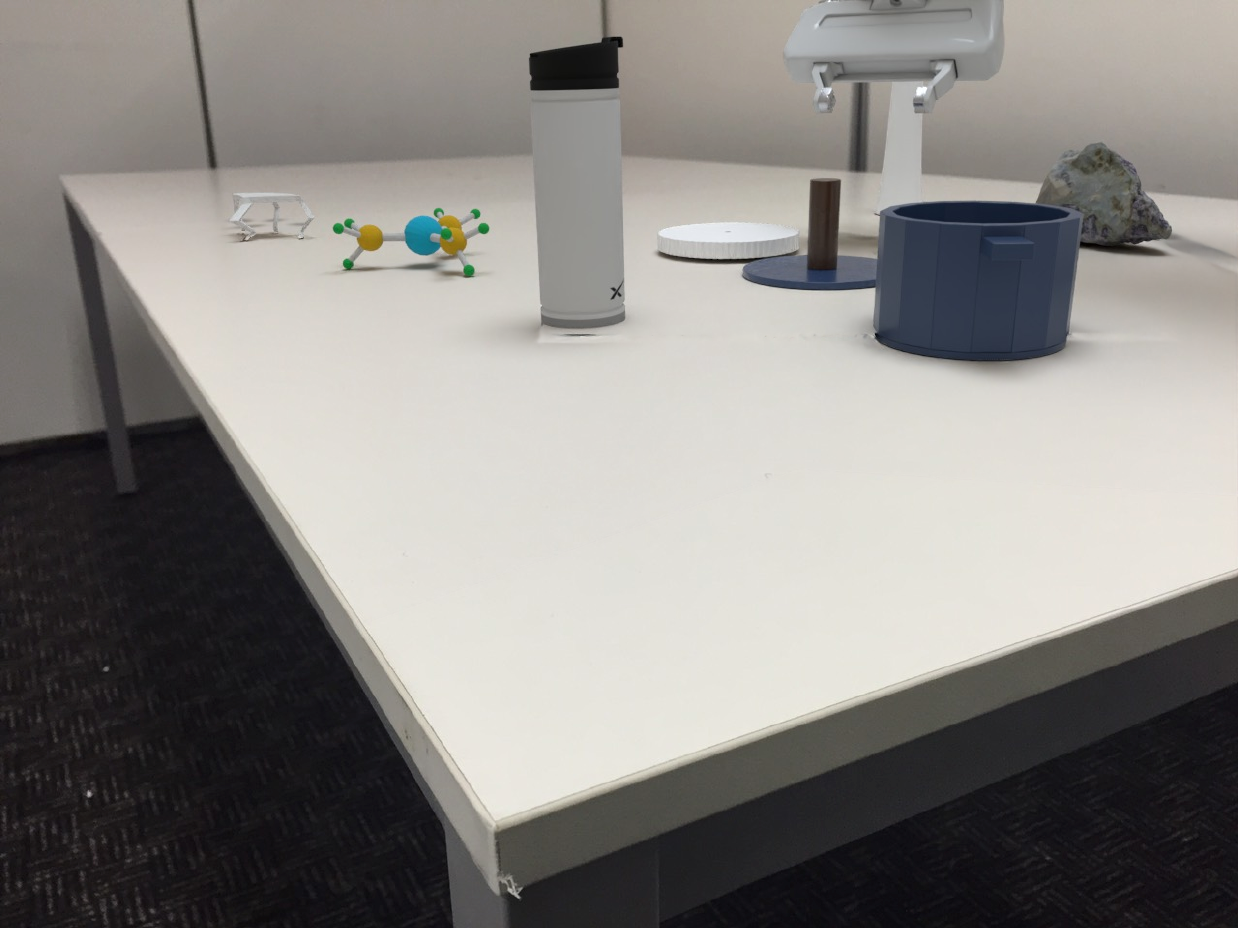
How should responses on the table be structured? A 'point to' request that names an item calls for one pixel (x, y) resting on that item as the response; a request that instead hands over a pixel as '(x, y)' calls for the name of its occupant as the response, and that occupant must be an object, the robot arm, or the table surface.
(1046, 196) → the mineral rock
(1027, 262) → the tin
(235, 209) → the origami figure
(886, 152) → the cosmetic bottle
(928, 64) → the robot arm
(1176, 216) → the table surface
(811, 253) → the tin lid
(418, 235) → the molecular model
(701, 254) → the plastic lid
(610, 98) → the travel mug
